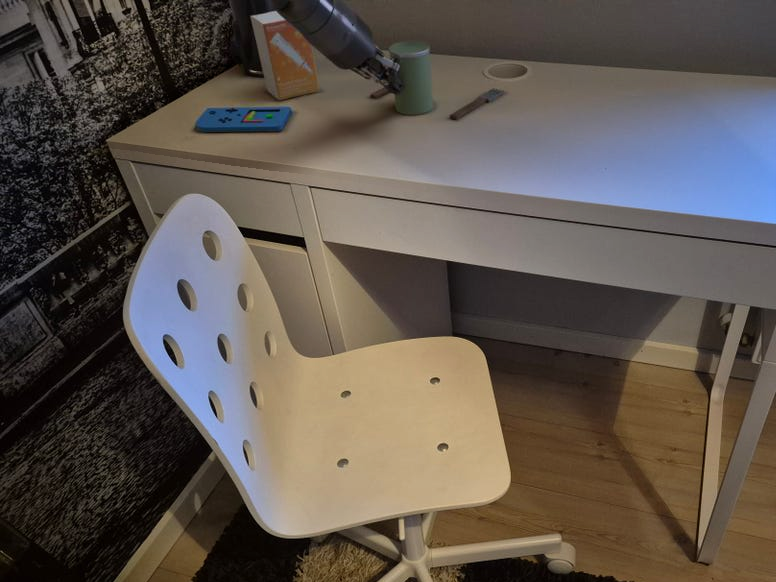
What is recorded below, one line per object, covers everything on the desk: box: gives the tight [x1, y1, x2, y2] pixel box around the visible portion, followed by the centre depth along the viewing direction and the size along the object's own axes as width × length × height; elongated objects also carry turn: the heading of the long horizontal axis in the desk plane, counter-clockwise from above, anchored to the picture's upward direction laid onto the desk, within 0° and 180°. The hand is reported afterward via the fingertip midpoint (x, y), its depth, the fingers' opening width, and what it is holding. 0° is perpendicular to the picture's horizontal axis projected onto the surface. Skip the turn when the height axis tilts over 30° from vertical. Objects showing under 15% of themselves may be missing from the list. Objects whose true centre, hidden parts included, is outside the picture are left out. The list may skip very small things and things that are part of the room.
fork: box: [449, 87, 505, 121], centre depth 116 cm, size 14×2×1 cm, turn 146°
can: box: [388, 40, 434, 116], centre depth 113 cm, size 7×7×10 cm
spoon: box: [369, 86, 390, 100], centre depth 124 cm, size 14×3×1 cm, turn 146°
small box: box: [250, 11, 320, 101], centre depth 119 cm, size 8×6×13 cm
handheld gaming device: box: [194, 106, 293, 133], centre depth 113 cm, size 8×1×15 cm
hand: (398, 89), depth 111 cm, fingers closed
